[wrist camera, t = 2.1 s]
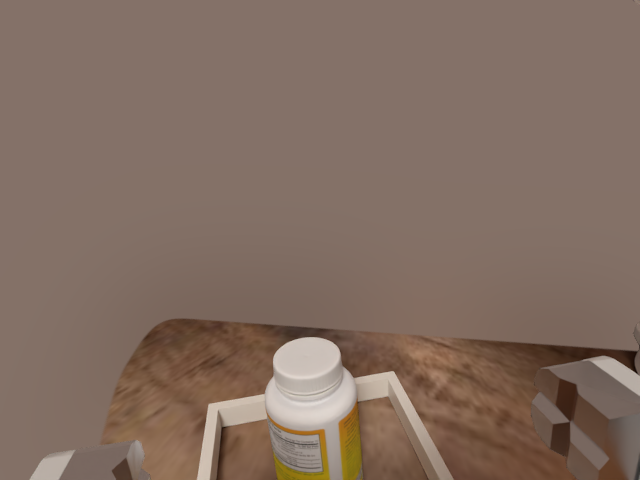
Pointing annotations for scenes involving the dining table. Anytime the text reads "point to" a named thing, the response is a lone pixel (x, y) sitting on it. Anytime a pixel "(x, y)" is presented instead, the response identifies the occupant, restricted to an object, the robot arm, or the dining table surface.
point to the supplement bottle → (313, 413)
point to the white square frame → (366, 390)
